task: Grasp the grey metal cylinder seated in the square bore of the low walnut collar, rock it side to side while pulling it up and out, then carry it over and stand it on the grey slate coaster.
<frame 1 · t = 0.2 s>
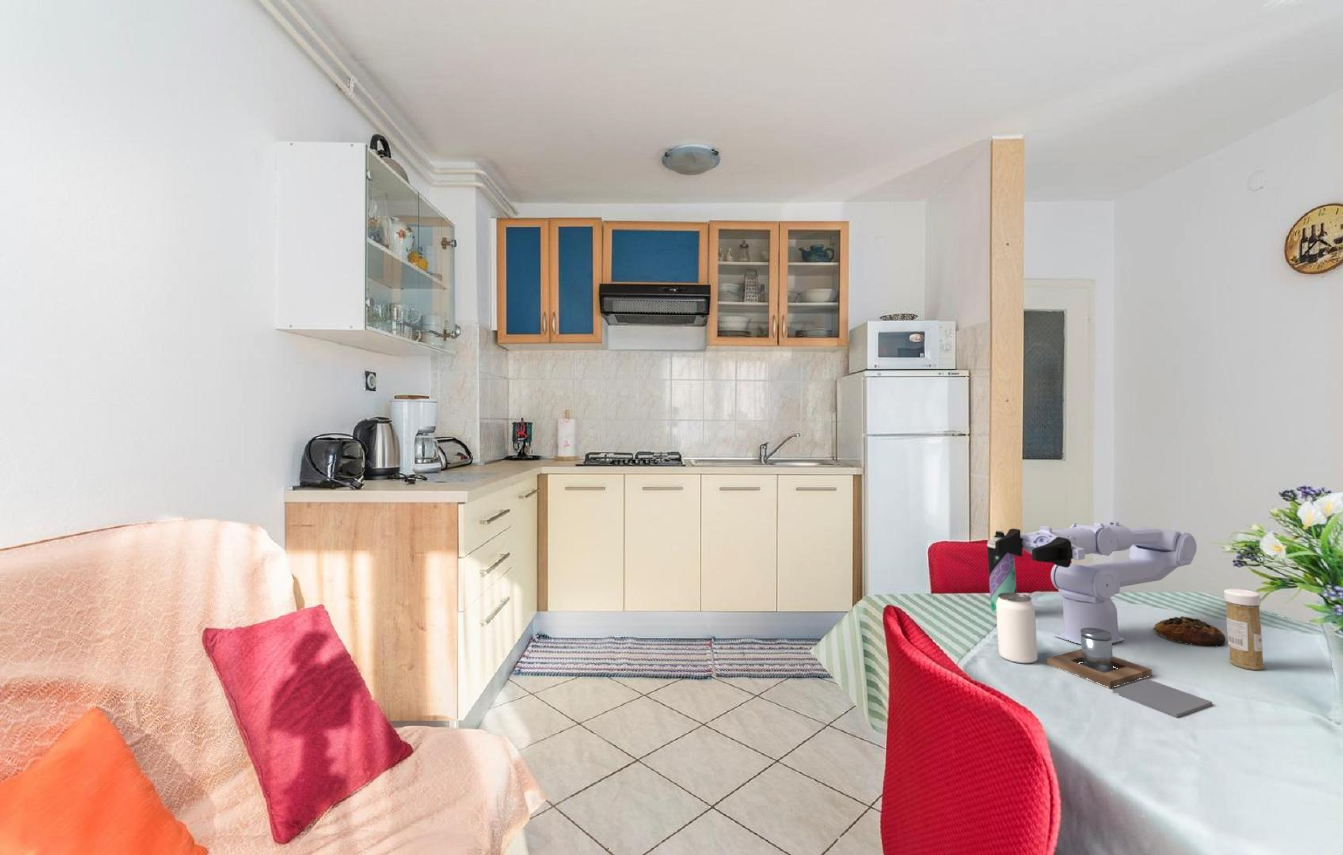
hand: (1014, 550, 108), 21 cm above the table, tool horizontal, fingers open, 7 cm apart
collar: (1097, 669, 101), on the table
can: (1018, 658, 108), on the table
bread roll: (1189, 638, 114), on the table
spray can: (1004, 615, 131), on the table
grey metal cylinder: (1098, 670, 101), resting in collar
coaster: (1161, 698, 90), on the table
sprinkles bottle: (1246, 666, 100), on the table
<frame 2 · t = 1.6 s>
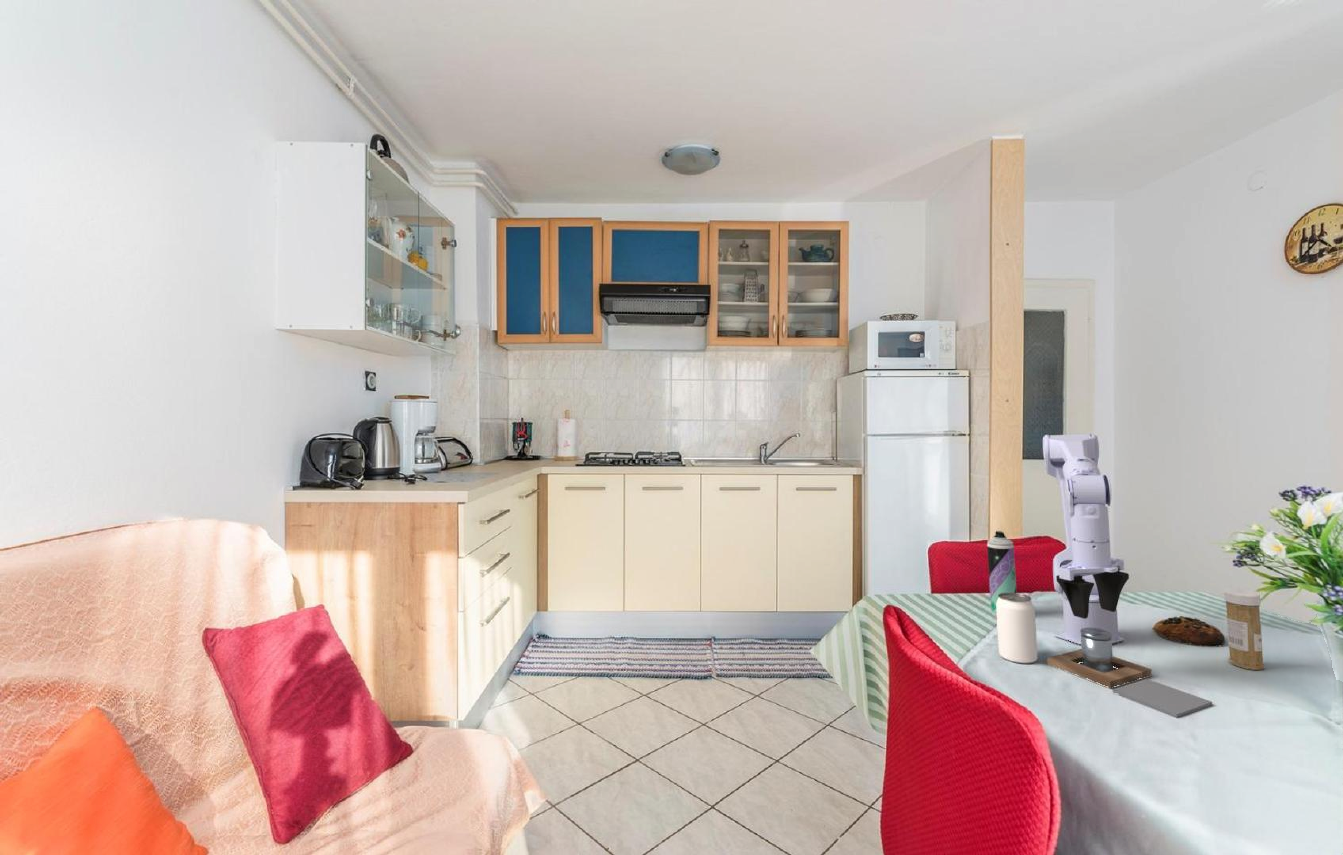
hand: (1094, 613, 101), 10 cm above the table, tool pointing down, fingers open, 7 cm apart
nothing on the table moved.
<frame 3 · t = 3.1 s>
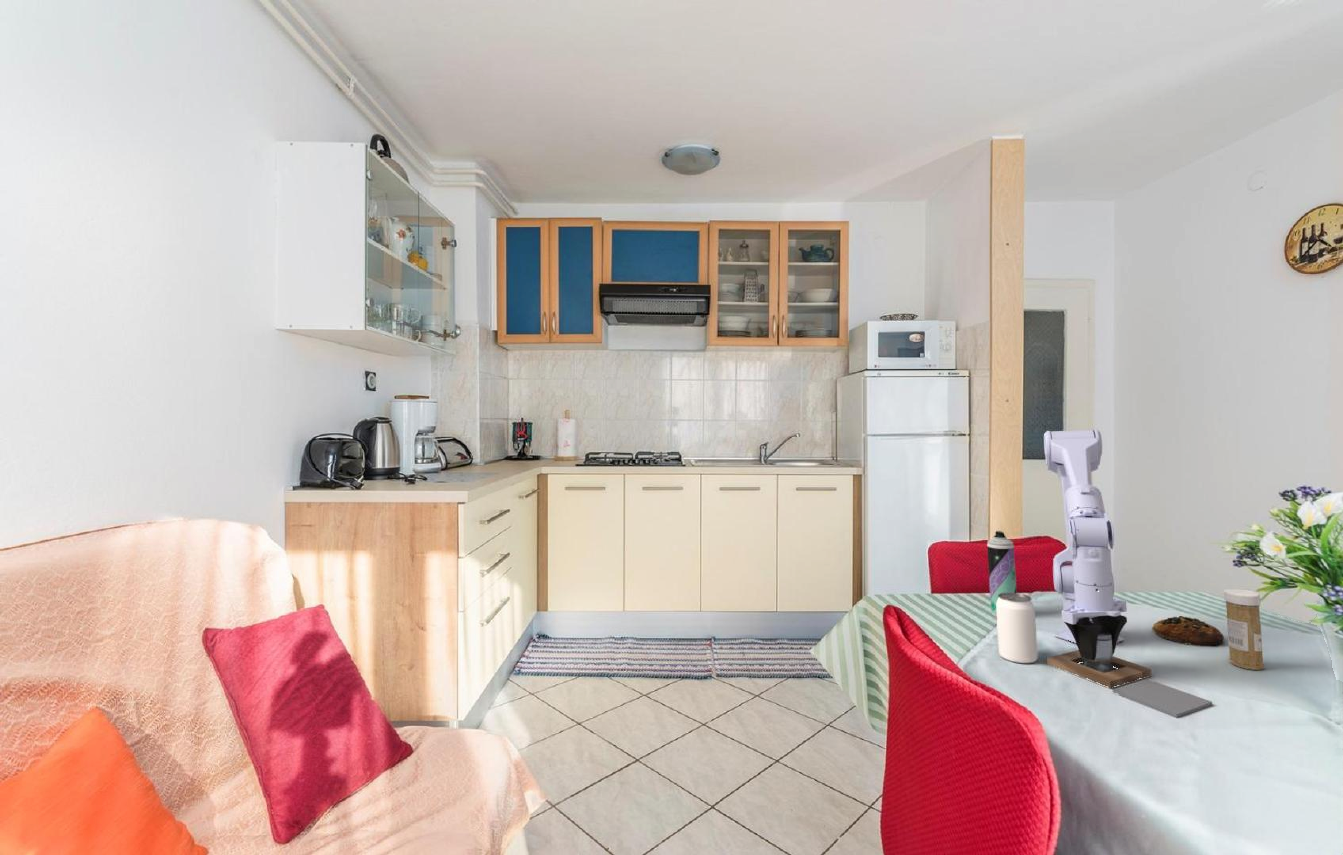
hand: (1097, 655, 101), 3 cm above the table, tool pointing down, fingers closed on grey metal cylinder, 4 cm apart
grey metal cylinder: (1098, 669, 101), resting in collar, touching gripper
everything else where it was.
when the fingers open (4 cm above the table, at t = 7.3 s): grey metal cylinder stays where it is, resting on coaster.
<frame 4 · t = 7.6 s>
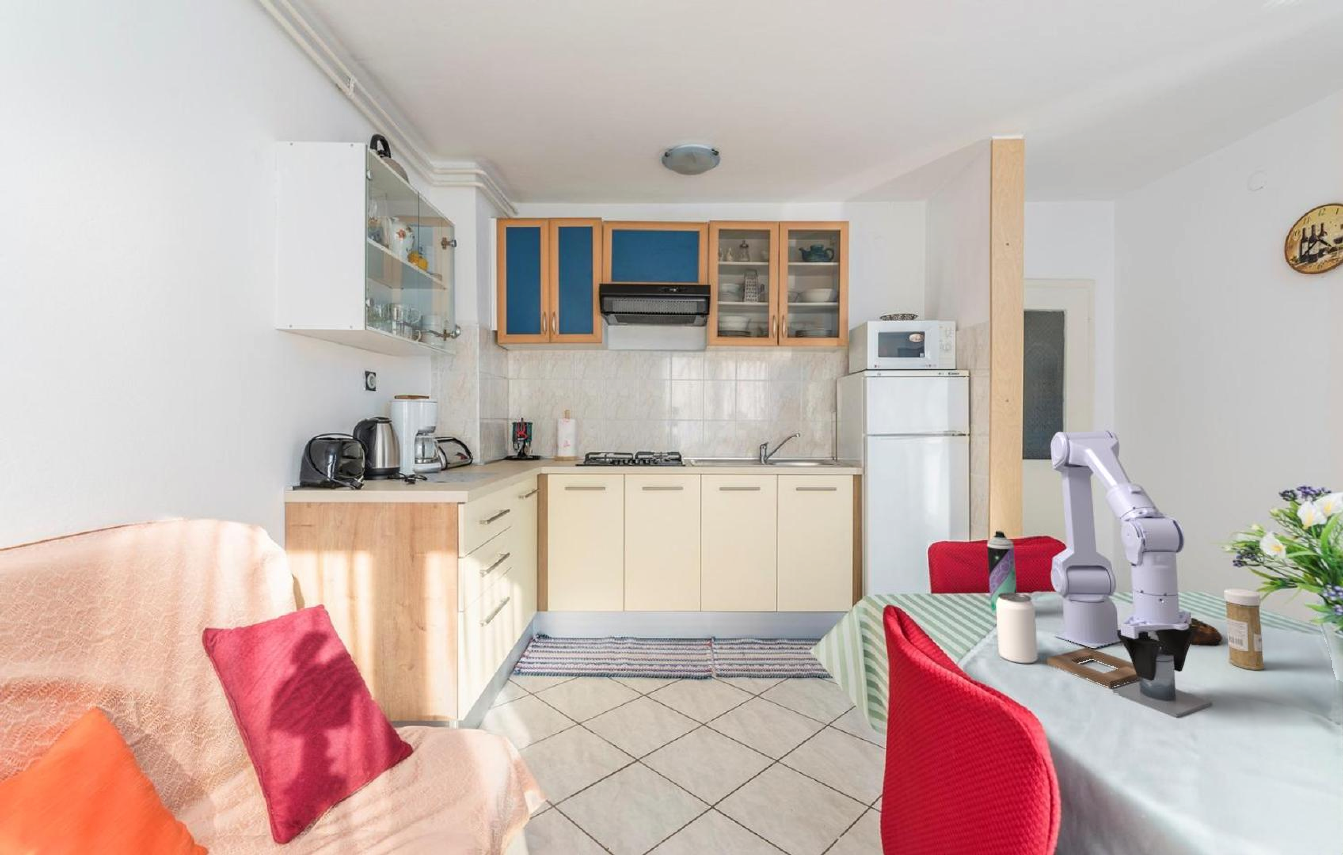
hand: (1159, 673, 90), 4 cm above the table, tool pointing down, fingers open, 7 cm apart
grey metal cylinder: (1157, 694, 91), point 1 cm above the table, touching coaster
everything else where it was.
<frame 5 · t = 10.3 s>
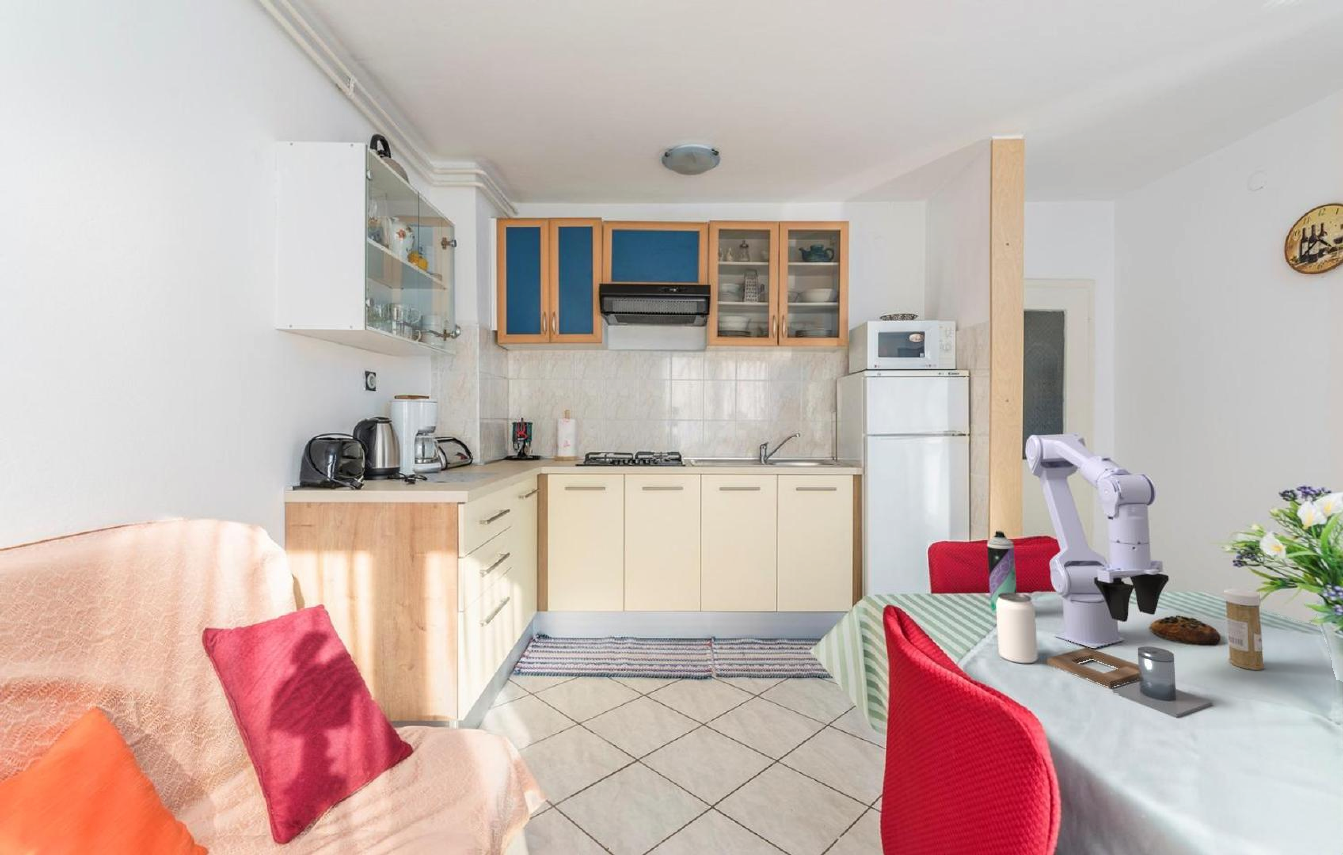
hand: (1133, 616, 99), 10 cm above the table, tool pointing down, fingers open, 7 cm apart
nothing on the table moved.
at the end: grey metal cylinder inside the target area on the coaster (0.5 cm from its centre), point 0.5 cm above the coaster's base; grey metal cylinder tilted 0°; the gripper is holding nothing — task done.
